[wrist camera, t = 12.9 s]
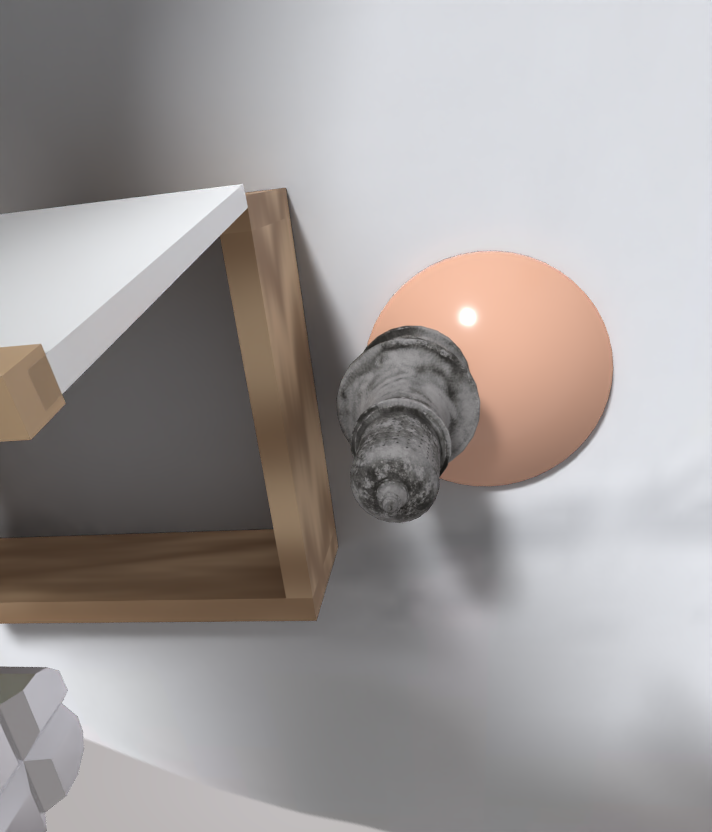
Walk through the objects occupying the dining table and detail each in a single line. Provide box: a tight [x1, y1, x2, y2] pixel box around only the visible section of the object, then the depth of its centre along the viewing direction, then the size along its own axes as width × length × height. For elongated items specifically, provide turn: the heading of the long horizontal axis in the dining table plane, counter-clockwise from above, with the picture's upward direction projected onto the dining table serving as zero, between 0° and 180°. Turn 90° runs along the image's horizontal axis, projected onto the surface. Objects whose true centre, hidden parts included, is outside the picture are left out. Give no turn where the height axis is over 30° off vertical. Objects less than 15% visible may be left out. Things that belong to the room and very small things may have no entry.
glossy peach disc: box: [367, 251, 613, 486], centre depth 30 cm, size 11×11×1 cm
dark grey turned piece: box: [337, 326, 480, 523], centre depth 25 cm, size 6×6×12 cm
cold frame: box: [0, 188, 338, 624], centre depth 31 cm, size 18×22×6 cm
